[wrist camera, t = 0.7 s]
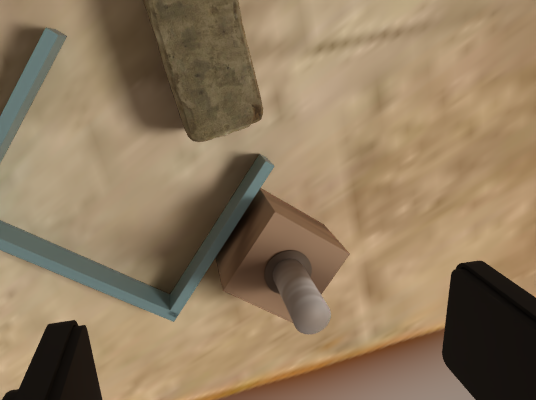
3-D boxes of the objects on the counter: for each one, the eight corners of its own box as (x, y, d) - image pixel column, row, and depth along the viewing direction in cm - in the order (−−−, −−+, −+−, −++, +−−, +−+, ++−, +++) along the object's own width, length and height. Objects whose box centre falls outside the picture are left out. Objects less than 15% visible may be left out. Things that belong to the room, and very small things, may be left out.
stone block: (187, 136, 34) (190, 149, 29) (133, -24, 30) (127, -38, 25) (258, 115, 35) (271, 124, 30) (215, -45, 30) (223, -63, 26)
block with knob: (258, 186, 36) (298, 247, 25) (324, 224, 39) (386, 294, 28) (215, 255, 37) (234, 341, 26) (280, 287, 40) (324, 379, 29)
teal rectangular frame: (55, 29, 30) (45, 27, 27) (267, 158, 36) (274, 166, 33) (-41, 213, 32) (-57, 226, 30) (173, 305, 38) (173, 321, 36)
